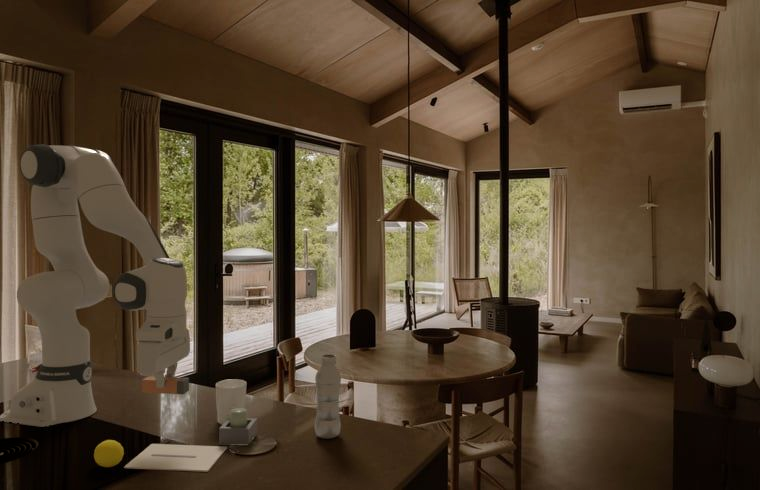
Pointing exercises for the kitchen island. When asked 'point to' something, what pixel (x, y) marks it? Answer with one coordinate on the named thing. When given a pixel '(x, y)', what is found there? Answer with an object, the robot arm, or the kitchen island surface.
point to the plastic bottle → (327, 398)
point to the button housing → (237, 433)
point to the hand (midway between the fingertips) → (165, 384)
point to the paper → (177, 457)
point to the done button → (238, 417)
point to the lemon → (108, 453)
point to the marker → (171, 387)
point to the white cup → (229, 397)
